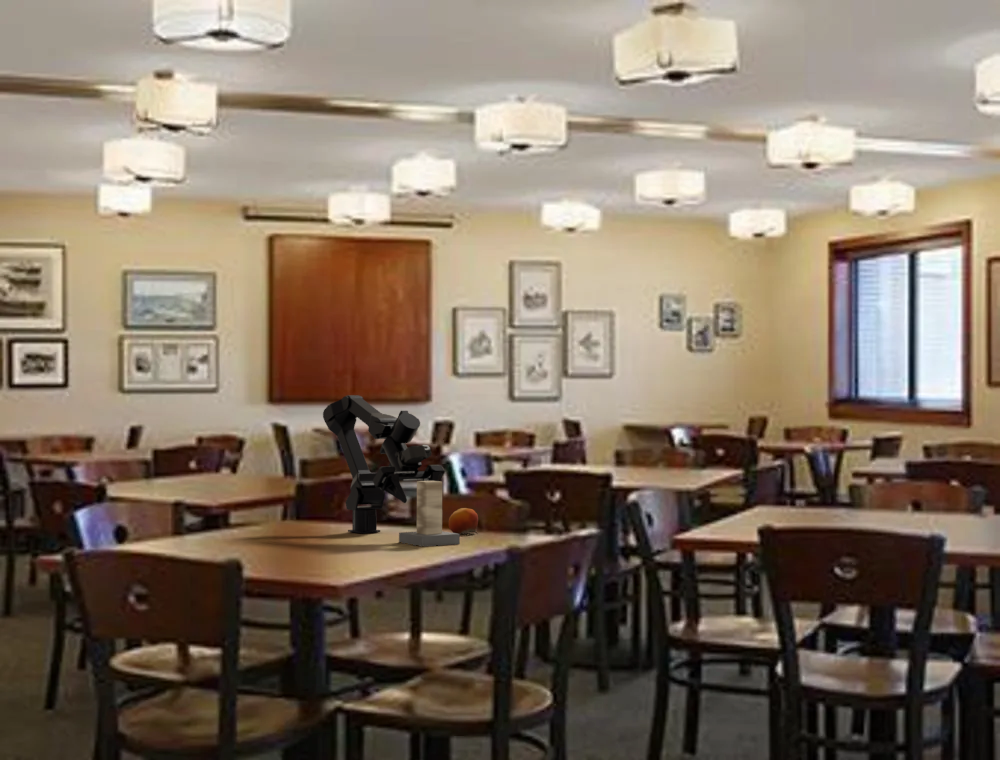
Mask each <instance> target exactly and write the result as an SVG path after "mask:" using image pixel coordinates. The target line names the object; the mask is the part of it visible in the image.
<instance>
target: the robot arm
mask: <svg viewBox="0 0 1000 760" xmlns="http://www.w3.org/2000/svg"><path fill="white" fill-rule="evenodd" d="M322 418H323V420H324V423H325V425H326V426H327V429H328V430H329V431H330V432H331V433H333V434H334V435H335V436H336V437H337V438H338V442H339V444H340V448H341V449H342V450H341V451H342V453H343V455H344V458H345V462H346V464H347V466H348V469H349V471H350V475H351V477H352V481H351V483H350V484H351V485H350V493H349V495H348V496H347V498H346V501H345V508H346V510H348V511H349V510H350V511H352V529H348V530H347V532H349V533H357V534H358V533H359V534H369V533H370V534H371V533H381V530H380V529H377V527H378V526H377V525H378V524H377V521H378V520H377V519H378V518H377V510H382V509H383V505H384V502H385V501H384V500H385V495H386V493H388V494H389V495H391V496H393V497H395V498H396V499H398V500H399V501H400V502H402V503H403V504H406V503H407V502H408V499H407V496H406V493H405V491H404V489H403V487H402V485H401V483H400V482H401V481H403V482H405V481H440V482H441V479H442V477H443V476H444V474H445V472H446V471H445V469H444V467H443V465H441V464H428V465H427V466H426V468H425V470H422V471H419V468H421V467H422V462H423V461H424V460H426V459H428V458H430V457H431V456H432V449H431V447H430V446H429V444H422V445H411V446H407V444H409V443H411V442H412V440H413V439H414V436H415V435H416V433H417V431H418V430H419V428H420V426H421V421H420V419H419V418H418V417H416V416H415V415H414V414H412V413H409V411H408V410H400V412H399V414H398V416H397V417H396V416H393V415H390V414H386V413H382V412H380V411H379V410H378V409H377V408H375V407H374V406H373V405H371V404H370V403H369V402H367V401H366V400H365V399H364V397H363V396H361V395H359V394H358V395H356V394H355V395H354V394H351V395H349V394H347V395H345V396H343V397H342V398H340V399H339V400H337V401H336V400H335V401H334V402H331V403H330V404H328V405H327V406H326V407H325V408H324V409H323V412H322ZM357 418H358V419H359V420H360V421H361V422H362V423H364V424H365V425H366V426H367V427H368V429H367V431H368V433H369V434H370V436H372V438H373V439H375V440H383V441H382V443H381V446H380V449H379V453H380V455H382V454H384V455H386V456H387V459H388V461H389V464H388V466H380V467H379V468H378V470H377V472H371V471H370V468H369V466H368V463H367V460H366V457H365V455H364V451H363V450H362V447H361V444H360V441H359V439H358V436H357V434H356V431H355V427H356V424H357Z"/></svg>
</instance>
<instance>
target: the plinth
mask: <svg viewBox="0 0 1000 760" xmlns="http://www.w3.org/2000/svg"><path fill="white" fill-rule="evenodd" d="M460 536H461V534H456V533H453V532H449V531H443V530H442V534H428V535H426V534H419V533H417V531H406V532H405V531H402V532H398V543H399V542H402V543H401V544H405V543H408V544H407V545H410V544H413V545H412V546H416V545H419V546H418V547H422V546H424V547H436V545H438V546H449V545H460V544H461V542H460Z"/></svg>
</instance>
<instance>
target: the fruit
mask: <svg viewBox="0 0 1000 760" xmlns="http://www.w3.org/2000/svg"><path fill="white" fill-rule="evenodd" d="M478 524H479V515H478V513H477V512H476V510H474V509H472V508H467V507H461V508H458V509H457V510H455V511H454V512H453V513H451V515H450V516H449V518H448V528H449V530H450V531H451V533H456V534H460V535H464V534H465V535H468V533H470V534H471V533H476V534H477V535H478V534H479V532H477V529H478Z"/></svg>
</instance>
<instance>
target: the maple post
mask: <svg viewBox="0 0 1000 760" xmlns="http://www.w3.org/2000/svg"><path fill="white" fill-rule="evenodd" d="M442 531H443V481H441V480H440V481H421V480H416V532H417V533H419V534H426V535H428V534H442Z"/></svg>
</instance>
